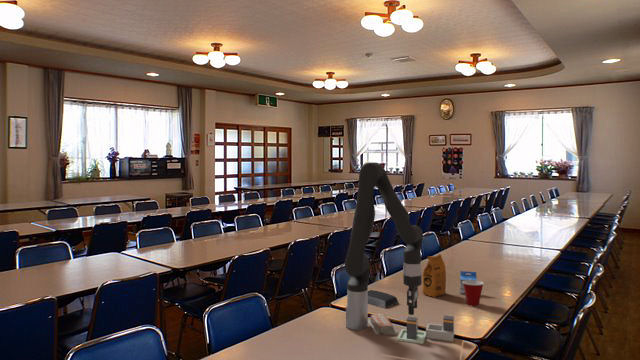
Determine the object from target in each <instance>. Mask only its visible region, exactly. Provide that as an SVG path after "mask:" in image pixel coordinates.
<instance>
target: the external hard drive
mask: <svg viewBox="0 0 640 360" xmlns="http://www.w3.org/2000/svg"><path fill="white" fill-rule="evenodd" d="M371 304H372V305H371ZM394 304H395V305H397V304H399V300H398V298H397V297H396V296H395V295H392V294H389V293H387V292H382V291H379V290H374V289H373V290H372V289H369V290H368V305H371V306H374V305H376V306H375V307H378V306H380V307H379V308H382V307H383V308H382V309H386V307H387V308H389V307H392V306H394ZM391 305H392V306H391Z"/></svg>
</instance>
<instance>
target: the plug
mask: <svg viewBox="0 0 640 360" xmlns="http://www.w3.org/2000/svg"><path fill="white" fill-rule="evenodd" d="M418 321H419V318H418V317H414V316H408V317H407V318H406V330H407V339H415V340H416V339H417V337H418V331H419V330H418V329H419V328H418V325H419V323H418Z"/></svg>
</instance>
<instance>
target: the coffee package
mask: <svg viewBox="0 0 640 360" xmlns="http://www.w3.org/2000/svg"><path fill="white" fill-rule="evenodd" d="M426 259H427V260H428V261H427V264H426V266H425V268H424V270H423V272H422V290H421V291H422V294H423V295H425V296H427V295H428V297H430V296H431V297H430V298H437V296H439V297H442V296H443V295H445V294H446V291H447V289H446V287H447V284H446V283H447V275H446V274H447V273H446V272H447V271H446V264H445V262H444V259H443V257H442V255H441V253H438V254H437V255H436V256H432V255H431V256H429V255H428V256H427V258H426ZM441 295H442V296H441Z"/></svg>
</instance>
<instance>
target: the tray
mask: <svg viewBox="0 0 640 360" xmlns="http://www.w3.org/2000/svg"><path fill="white" fill-rule="evenodd" d="M425 339H426V331H422V330H421V331H419V330H418V337H417V339H416V340H415V339H407V328H402V329H401V330H400V332H399V334H398V336H397V338H396V341H398V342H399V341H400V342H406V343H413V344H421V345H424V343H425Z"/></svg>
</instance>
